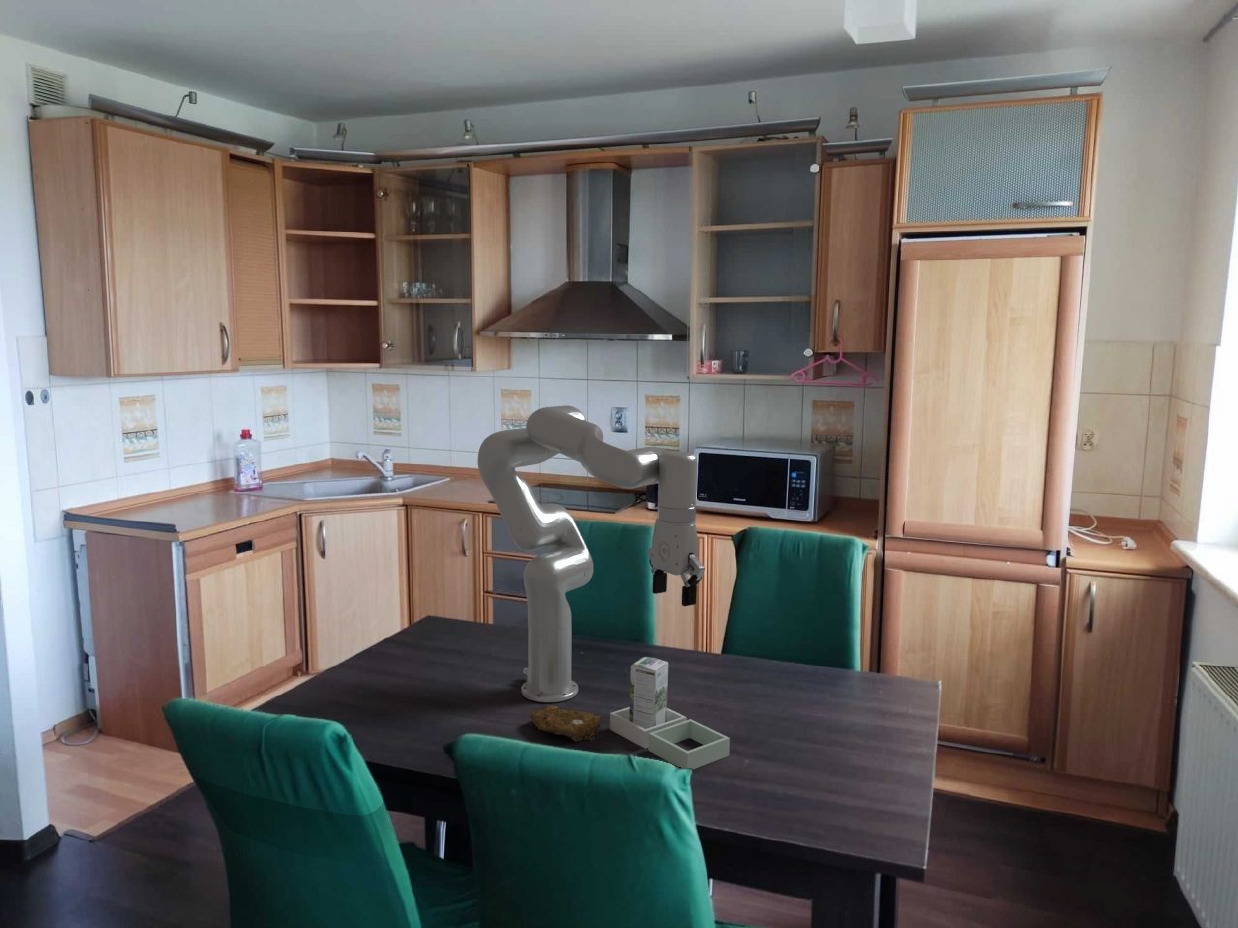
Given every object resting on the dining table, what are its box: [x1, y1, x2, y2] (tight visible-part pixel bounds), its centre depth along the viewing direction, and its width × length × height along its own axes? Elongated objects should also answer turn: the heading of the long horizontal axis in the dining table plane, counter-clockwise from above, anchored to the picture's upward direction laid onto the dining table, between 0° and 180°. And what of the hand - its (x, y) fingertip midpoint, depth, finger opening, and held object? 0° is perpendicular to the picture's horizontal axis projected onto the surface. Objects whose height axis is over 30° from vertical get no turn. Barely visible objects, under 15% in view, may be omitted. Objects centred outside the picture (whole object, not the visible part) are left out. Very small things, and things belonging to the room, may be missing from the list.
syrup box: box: [629, 656, 669, 729], centre depth 184 cm, size 6×6×14 cm
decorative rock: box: [529, 704, 602, 743], centre depth 185 cm, size 11×4×15 cm
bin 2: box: [648, 718, 731, 770], centre depth 175 cm, size 11×11×4 cm
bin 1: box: [609, 706, 688, 749], centre depth 184 cm, size 11×11×4 cm
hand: (673, 598), depth 183 cm, fingers open, 9 cm apart
